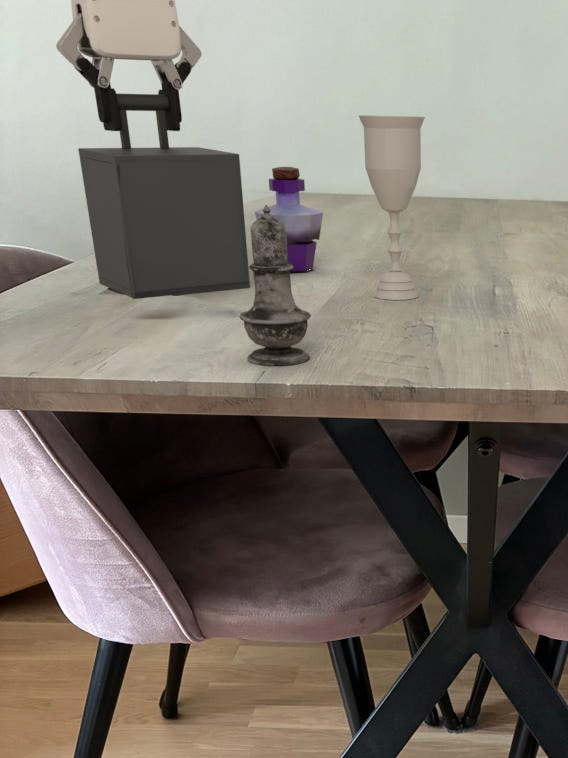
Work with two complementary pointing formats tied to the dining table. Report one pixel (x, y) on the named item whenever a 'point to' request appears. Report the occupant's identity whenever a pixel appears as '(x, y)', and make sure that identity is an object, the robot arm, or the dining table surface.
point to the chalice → (393, 185)
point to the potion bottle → (294, 218)
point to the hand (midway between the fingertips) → (142, 128)
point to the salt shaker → (273, 298)
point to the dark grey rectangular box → (164, 213)
